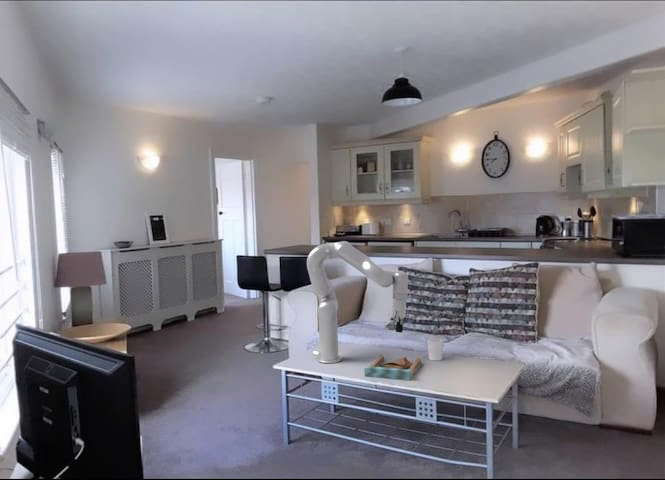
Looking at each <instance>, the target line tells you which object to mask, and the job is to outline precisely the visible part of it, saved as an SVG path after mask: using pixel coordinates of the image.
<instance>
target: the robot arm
mask: <svg viewBox="0 0 665 480" xmlns="http://www.w3.org/2000/svg"><path fill="white" fill-rule="evenodd" d="M339 258H340V259H341V260H343V261H344V262H346V263H347V264H349V265H350V266H352V267H353V268H354V269H356V270H357V271H359V272H360V273H361V274H363V275H364V276H366V277H367V278H368V279H369V280H371V281H372V282H374V283H375V284H377V285H378V286H380V287H382V288H389V287H391V286H392V300H393V303H392V314H391V318H392V320H394V319H395V332H396V333H402V332H404V331H403V330H404V329H403V328H404V318H405V317H406V314H407V313H406V312H407V309H406V308H407V307H406V306H407V303H406V301H407V300H408V297H409V296H408V295H409V294H408V293H409V291H408V290H409V289H408V288H409V287H408V286H409V285H408V283H409V275H408V273H407V272H404V271H389V270H384V269H383V268H381V267H380V266H379V265H377V264H376V263H375V262H374V261H372V260H371V258H370V257H369V256H368V255H366V254H365V253H363V252H362V251H360V250H359V249H357V248H356V247H354V246H353V245H352V244H351V242H349V241H346V240H342V241H336V242H330V243H329V242H328V243H323V244H319V245H317V246H315V247H314V248H313V249H312V250H311V251H310V252H309V254H308V255H307V259H306V269H307V272H308V275H309V280H310V283H311V286H312V291H313V294H314V295H315V297H317V299H318V302H319V305H318V308H317V315H318V318H317V319H318V330H319V331H318V332H319V350H314V351H313V352H312V353H313V356H316V357H317V360H316V361H317V362H318V363H322V364H336V363H338V362H342V360H343V359H342V356H341V355H339V335H338V334H339V333H338V332H339V330H338V315H337V314H338V309H339V302H338V298H337V295H336V291H335V289H334V288H335V287H334V286H333V283H332V281H331V280H330V279H329V278H328V276H327V273H326V270H325V267H324V262H326V261H327V260H332V259H333V260H334V259H339Z"/></svg>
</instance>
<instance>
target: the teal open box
mask: <svg viewBox="0 0 665 480" xmlns="http://www.w3.org/2000/svg"><path fill="white" fill-rule="evenodd" d="M384 362H385V355H383V354H382V355H379V356H377V358H376V359H375V360H374V361H373V362H372V363H371V364H370V365H365V367H364V368H363V369H364V370H363V371H364V377H366V378H367V377H368V378H375V379H376V378H379V379H388V380H389V379H390V380H398V381H410V380H411V379H412V378H413V376H414V374H416V372H417V370H418V369H419V367H421V364H422V358H421V357H416V359H415V360H414V362H412V363H413V364H412V366H411V367H410V368H409V369H396V368H384V367H381V366H380V365H381V364H382V363H384Z"/></svg>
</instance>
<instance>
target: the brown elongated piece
mask: <svg viewBox="0 0 665 480" xmlns="http://www.w3.org/2000/svg"><path fill="white" fill-rule="evenodd" d="M413 363H414V362H411V361H410V360H409V359H407V358H406V357H402V358H399V359H395V360H392V361H390V362H386V363H383V364H382V365H381V366H380V367H384V368H396V369H408V370H409V368H410V367H411V366H412V364H413Z"/></svg>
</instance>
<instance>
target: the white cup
mask: <svg viewBox="0 0 665 480" xmlns="http://www.w3.org/2000/svg"><path fill="white" fill-rule="evenodd" d="M426 342H427V344H426V345H427V353H428V360H430V361H432V360H433V361H435V362H438V361H439V362H440V361H442V360H443V349H444V348H443V347H444V346H443V345H444V344H443V343H444V339H442V338H439V337H430V338H427V339H426Z"/></svg>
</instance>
